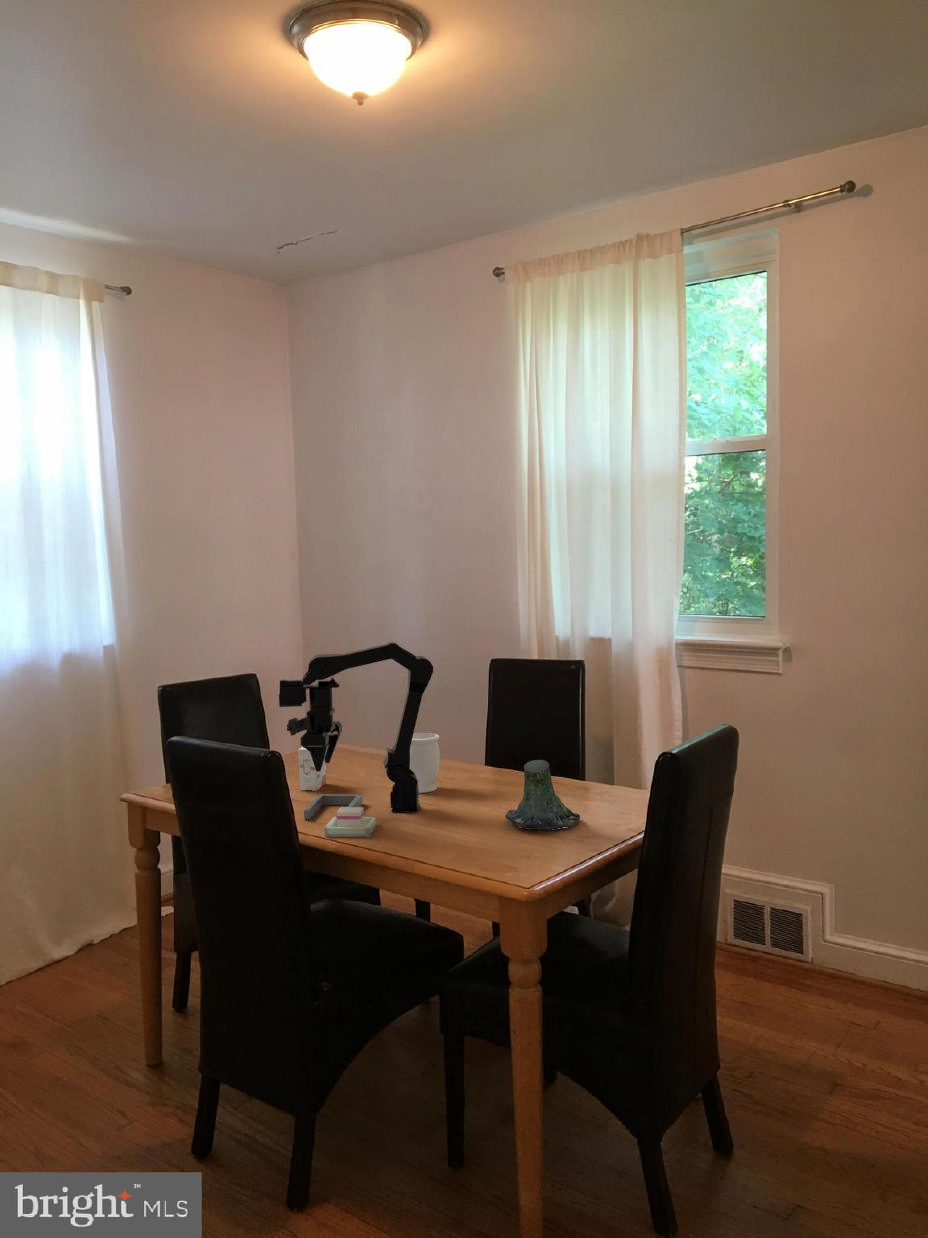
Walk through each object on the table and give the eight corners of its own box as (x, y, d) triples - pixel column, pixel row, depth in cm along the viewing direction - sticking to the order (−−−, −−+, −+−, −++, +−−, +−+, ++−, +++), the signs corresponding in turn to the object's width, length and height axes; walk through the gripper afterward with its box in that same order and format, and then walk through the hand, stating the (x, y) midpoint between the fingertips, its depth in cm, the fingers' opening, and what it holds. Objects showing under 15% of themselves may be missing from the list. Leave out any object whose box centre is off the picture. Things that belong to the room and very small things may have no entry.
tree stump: (593, 817, 240) (590, 751, 235) (564, 859, 224) (560, 789, 218) (525, 805, 249) (520, 741, 243) (492, 845, 232) (486, 778, 226)
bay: (362, 804, 254) (362, 794, 254) (349, 820, 239) (349, 810, 239) (319, 803, 256) (319, 794, 255) (304, 820, 241) (303, 810, 240)
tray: (376, 825, 235) (376, 817, 235) (368, 837, 226) (368, 828, 225) (334, 824, 236) (333, 816, 236) (324, 836, 227) (324, 828, 226)
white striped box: (364, 825, 233) (363, 807, 232) (360, 831, 228) (359, 812, 228) (341, 825, 233) (340, 807, 233) (337, 831, 229) (336, 812, 228)
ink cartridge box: (310, 783, 278) (308, 732, 277) (326, 783, 277) (325, 732, 276) (299, 790, 270) (297, 738, 269) (316, 791, 269) (314, 738, 268)
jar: (398, 794, 264) (396, 739, 263) (406, 784, 274) (405, 732, 273) (436, 795, 262) (435, 740, 261) (443, 785, 272) (442, 732, 271)
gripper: (299, 699, 254) (301, 758, 255) (278, 712, 235) (280, 775, 236) (341, 699, 252) (343, 759, 254) (324, 712, 234) (325, 776, 235)
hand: (323, 767), depth 245 cm, fingers open, 9 cm apart
